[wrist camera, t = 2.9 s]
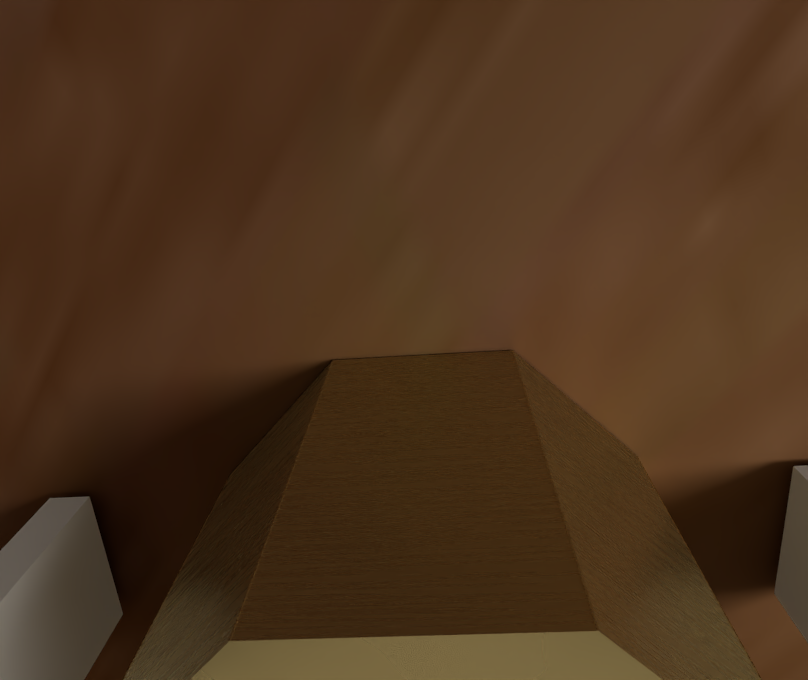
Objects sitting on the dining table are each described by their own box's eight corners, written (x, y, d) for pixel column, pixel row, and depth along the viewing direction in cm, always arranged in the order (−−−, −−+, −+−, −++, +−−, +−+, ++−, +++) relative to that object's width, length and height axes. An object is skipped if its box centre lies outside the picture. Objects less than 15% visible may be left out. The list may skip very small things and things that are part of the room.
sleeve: (208, 366, 11) (-18, 647, 6) (644, 342, 11) (876, 623, 5) (271, 685, 14) (160, 1099, 8) (624, 677, 13) (767, 1111, 8)
